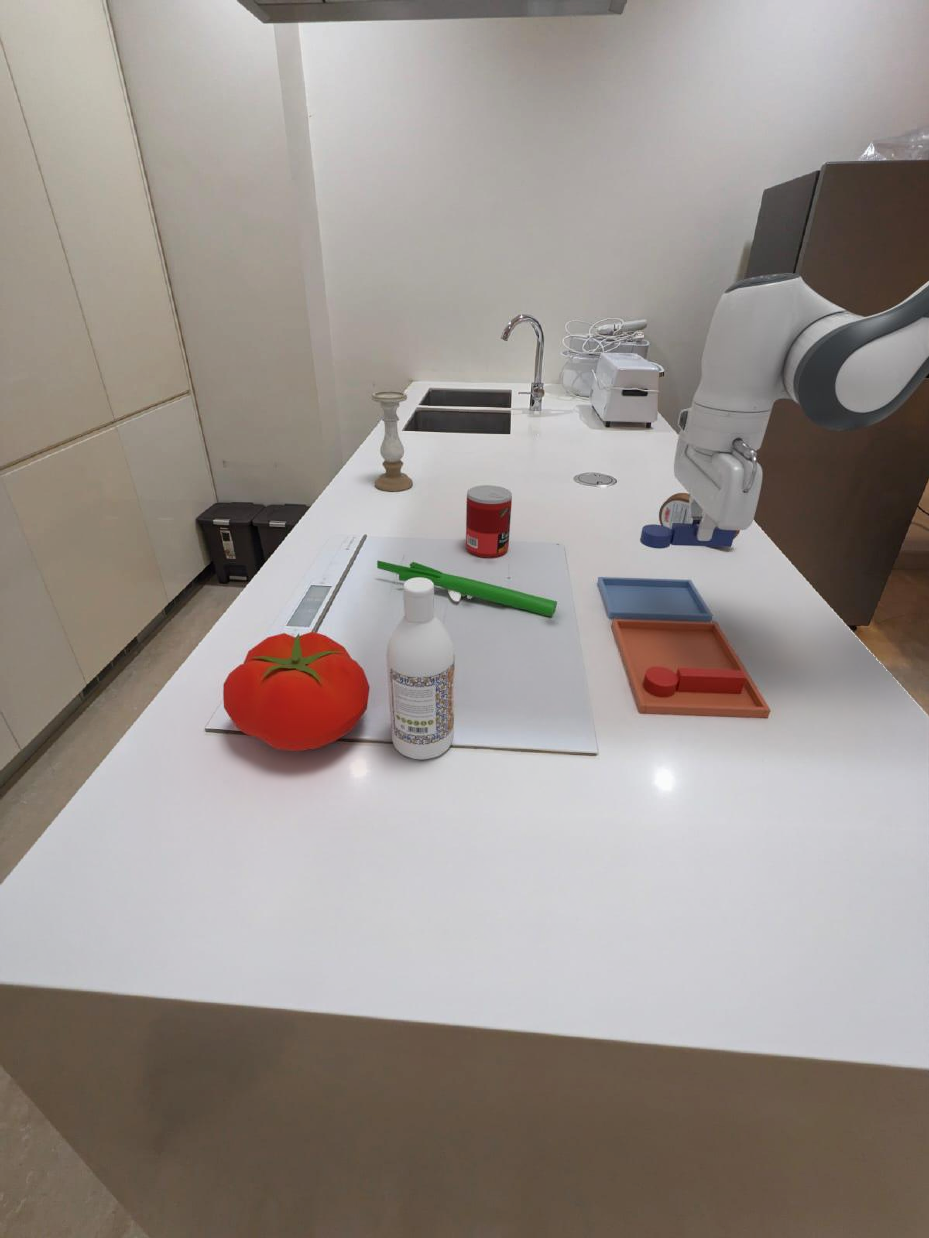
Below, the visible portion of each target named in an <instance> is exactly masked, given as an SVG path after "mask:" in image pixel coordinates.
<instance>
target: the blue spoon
mask: <svg viewBox="0 0 929 1238" xmlns="http://www.w3.org/2000/svg"><path fill="white" fill-rule="evenodd" d="M696 525H697V524H691V523H672V527H671V529H670V528H668V527H666V526H662V525H661V524H653V523H652V524H646V525H644V526H642V528H641V532H640V536H639V537H640V538H639V542H640V543H641V544H642V545H644V546H645V547H648V548H652V549H658V550H659V549H660V550H661V549H668V548H669V547H670V546H683V547H684V546H685V547H686V546H687V547H709V546H714V547H713V548H731V547H732V545H733V542H734V540H735V539H734V536H735V532H736V530H723V529H719V528H718V527H717V526H716V527H715V529H714V530H713V534H712V538H711V539H710V540H709V541H699V540H698V539H697V537H696V536H695V531H696Z"/></svg>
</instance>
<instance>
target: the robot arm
mask: <svg viewBox="0 0 929 1238" xmlns="http://www.w3.org/2000/svg"><path fill="white" fill-rule="evenodd" d="M928 375H929V280H928V281H927V282H926V283H924V284H923V285H922V286H920V287H919V288H918V289H917V290H916V291H914V292H913V293H912V294H910V295H909V296H908V297H907V298H905V299H904V300H903V301H902V302H900V303H899V304H897V305H895V306H893V307H891V308H889V309H886V310H884V311H882V312H879V313H876V314H872V315H868V316H863V315H860V314H856V313H854V312H852V311H849V310H846V309H845V308H843V307H840V306H839V305H837V304H835V303H833V302H831V301H830V300H828V299H826V298H825V297H823V296H822V295H820V294H819V293H817V292H816V291H815V290H814V289H813V288H811V287H810V286H809V284H807V283H806V282H805V281H804V279H803V277H802V276H801V275H800V274H797V273H793V272H780V273H775V274H774V273H769V274H763V275H758V276H751V277H747V278H744V279H741V280H738V281H736V282H734V283H733V284H731V285H730V286H729V287H728V288H727V289H726V290H725V291H724V292H723V293H722V295H721V297H720V298H719V300H718V303H717V305H716V308H715V310H714V313H713V316H712V318H711V322H710V325H709V329H708V333H707V337H706V339H705V344H704V349H703V353H702V356H701V377H700V381H699V385H698V387H697V389H696V391H695V392H694V395H693V398H692V402H691V406H690V407H689V408H685V409H682V410H680V412H679V415H678V420H677V426H678V427H679V429H680V430H679V432H678V437H677V441H676V447H675V455H674V461H673V474H674V477H675V479H676V480H677V481H678V482H679V483H680V485H681V486H682V487H683V488H684V489H685V490H686V492H687V493H688V494H690V499H689V508H690V517H689V521H688V523H691V524H697V525H696V531H695V536H696V537H697V539H698V540H699V541H709V540H710V539H711V538H712V534H713V530H714V529H715V527H716V526H717V527H718V528H719V529H723V530H740V531H746V530H748V528H749V527H751V525H752V524H753V522H754V520H755V515H756V511H757V507H758V503H759V499H760V494H761V489H762V484H763V468H762V466H761V464H760V463H759V462H758V461H757V460H758V459H757V456H758V453H757V451H758V450H760V449H761V447H762V444H763V441H764V438H765V435H766V431H767V427H768V424H769V420H770V417H771V413H772V410H773V408H774V407H773V406H774V404H775V402H776V401H778V400H779V399H788V400H793V402H795V403H796V404H798V405H799V407H800V409H801V410H802V412H803V413H804V415H805V416H806V417H807V418H808V419H809V420H810V421H811V422H812V423H813V424H815V425H816V426H819V427H820V428H823V429H827V430H830V431H835V432H836V431H837V432H851V431H856V430H861V429H865V428H867V427H870V426H873V425H875V424H877V423H879V422H882V421H884V419H886V418H887V417H889V416H890V415H892V414H893V413H894V412H896V411H897V410H898V409H899V408H901V406H902V405H903V404H904V403H906V401H907V400H908V399H909V398H910V396H912V394H913V393H914V392H915V391H916V390H917V388H918V387H919V386H920V385H921V383H922V382H923V381H924V380H925V378H926V377H927V376H928Z"/></svg>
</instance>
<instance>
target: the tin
mask: <svg viewBox="0 0 929 1238" xmlns="http://www.w3.org/2000/svg"><path fill="white" fill-rule="evenodd" d="M689 499H690V494H689V493H688V492H677V493H674V494H673V495H670V496H669V497H668V498H666V500H665V501H664V502H662V504H661V506H660V508H659V512H658V521H659V525H662V526H666V527H668V528H670V529H671V527H672V523H688V521H689V517H690V508H689ZM740 532H741V530H736V532H735V536H734V539H733V540H735V539H736V538H737V537H738V535H739V534H740ZM708 547H709V548H715V547H714V546H708Z"/></svg>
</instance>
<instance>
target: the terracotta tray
mask: <svg viewBox="0 0 929 1238" xmlns="http://www.w3.org/2000/svg"><path fill="white" fill-rule="evenodd" d="M718 623H719V622H716V621H715V622H712V621H711V622H688V621H659V620H630V619H611V625H610V627H611V630H612V633H613V636H614V641H615V642H616V646H617V649H618V653H619V655H620V659H621V661H622V664H623V667H624V669H625V670H624V671H625V674H626V677H627V680H628V683H629V687H630V689H631V692H632V695H633V699H634V702H635V705H636V708H637V711H638V713H639V714H644V715H671V716H672V715H673V716H696V717H718V718H719V717H722V718H747V719H750V718H751V719H768V718H769V716H770V714H771V709H770V707H769V705H768V704H767V702H766V700H765V698H764V697H763V696H762V693H761V692H760V690H759V689H758V686H757V685H756V684H755V682H754V681H753V679H752V677H751V676H750V674H749V672H748V671H747V669H746V667H745V665H743V663H742V661H741V660H740V658H739V656H738V655H737V652H735V650H734V648H733V646H732V644H731V643H730V641H729V639H728V638H727V636H726V635H725V633H724V632H723V630H722V628H721V627H720V625H719V624H718ZM656 666H658V667H665V668H668V669H670V670H672V671H673V672H675V673H677V669H678V668H697V669H724V670H742V671H743V673H744V674H745V676H746V681H745V684H744V686H743V689H742V692H741V694H730V693H703V692H677V691H675V693H674V694H673V695H672V696H669V697H658V696H655V695H652V694H650V693H649V692H647V691H646V690H645V688H644V687H643V681H644V677H645V673H646V670H647V669H649V668H651V667H656Z"/></svg>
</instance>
